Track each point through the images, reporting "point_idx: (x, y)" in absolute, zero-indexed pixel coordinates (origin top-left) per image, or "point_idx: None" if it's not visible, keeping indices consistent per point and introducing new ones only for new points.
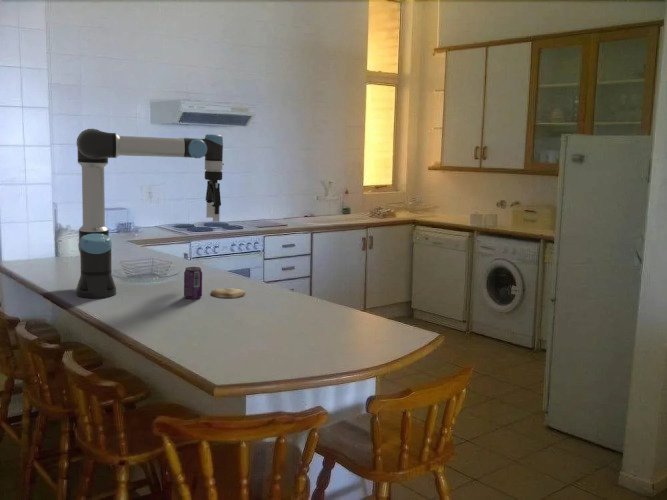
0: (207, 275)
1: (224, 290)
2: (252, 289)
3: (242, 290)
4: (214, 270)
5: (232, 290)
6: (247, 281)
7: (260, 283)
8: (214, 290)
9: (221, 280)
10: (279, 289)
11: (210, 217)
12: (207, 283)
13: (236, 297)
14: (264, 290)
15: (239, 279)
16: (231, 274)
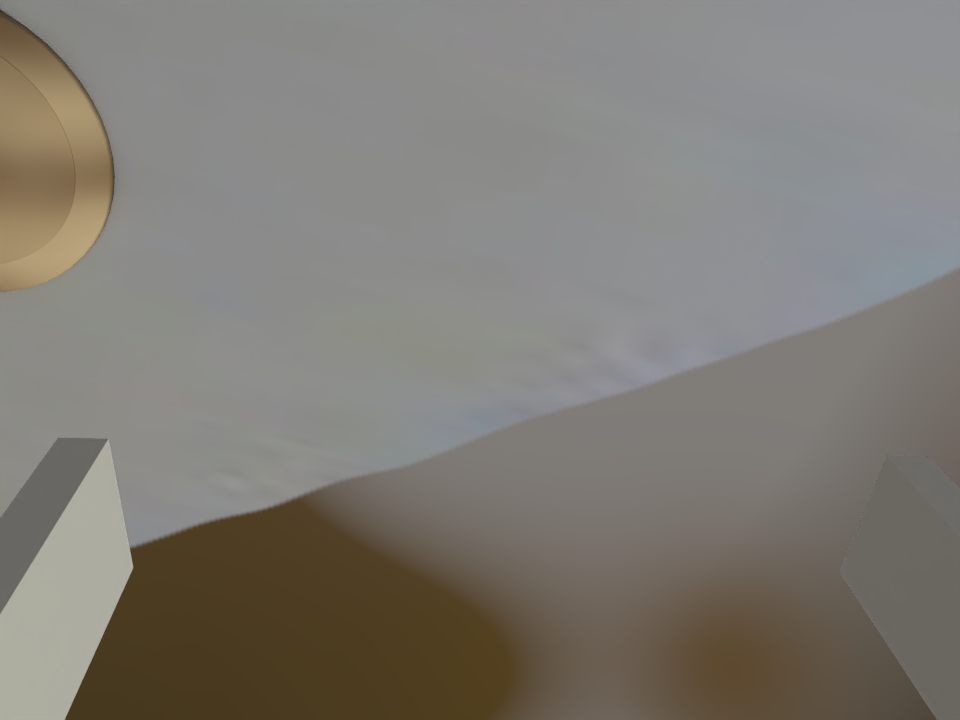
0: (722, 172)
1: (9, 140)
2: (137, 375)
3: (25, 287)
4: (881, 279)
5: (12, 208)
6: (414, 410)
7: (331, 472)
8: (18, 50)
9: (495, 236)
10: (129, 532)
11: (857, 530)
12: (406, 84)
13: None
14: None
15: (495, 375)
16: (685, 365)
